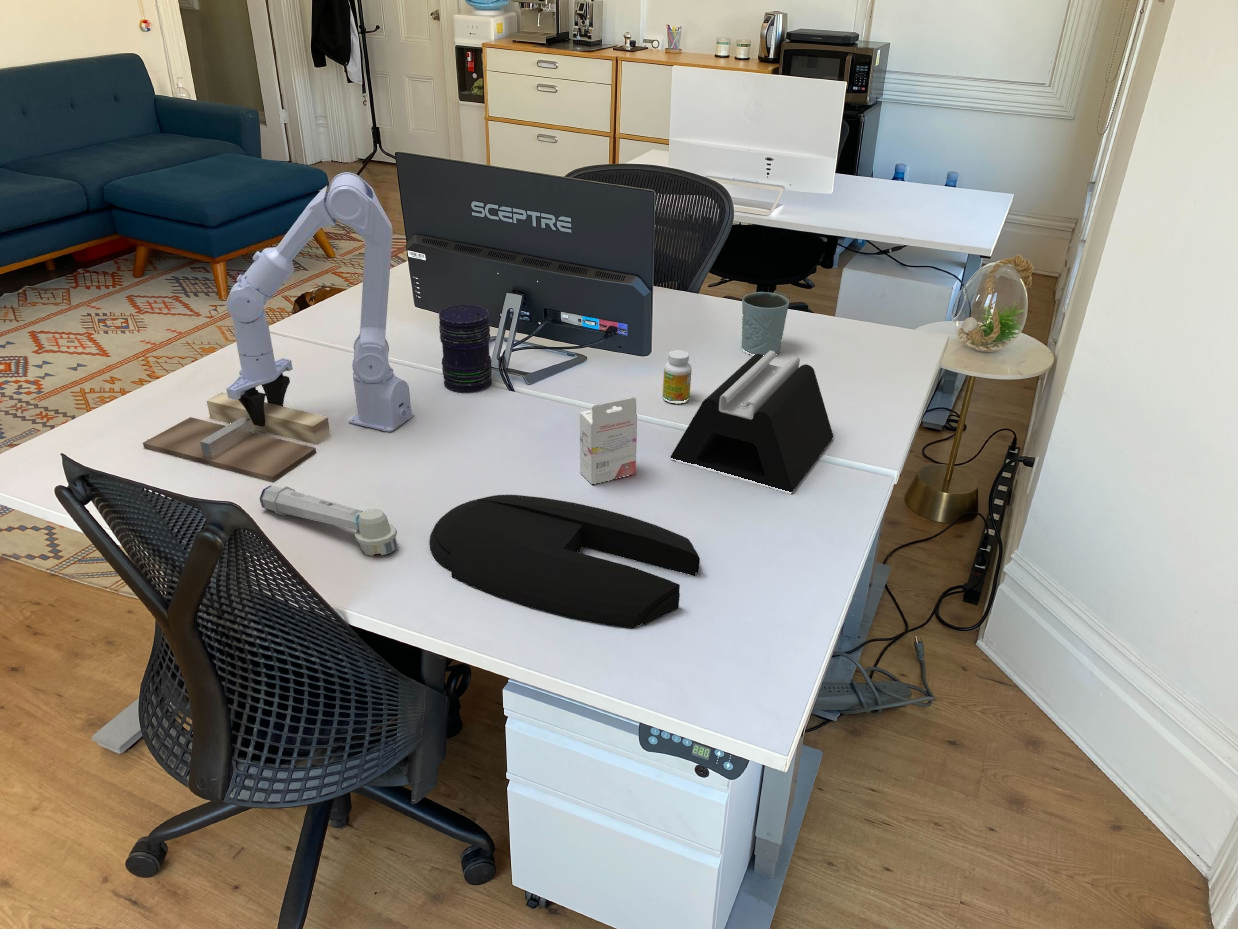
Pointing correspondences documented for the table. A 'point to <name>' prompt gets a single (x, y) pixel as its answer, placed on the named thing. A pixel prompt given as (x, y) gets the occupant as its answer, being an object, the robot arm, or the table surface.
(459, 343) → the storage jar
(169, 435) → the board
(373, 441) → the table surface
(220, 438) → the ridge
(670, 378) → the supplement bottle
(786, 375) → the device stand
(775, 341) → the embossed green cup
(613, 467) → the ink cartridge box
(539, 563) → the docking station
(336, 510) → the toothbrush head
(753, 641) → the table surface
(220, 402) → the beech rod
